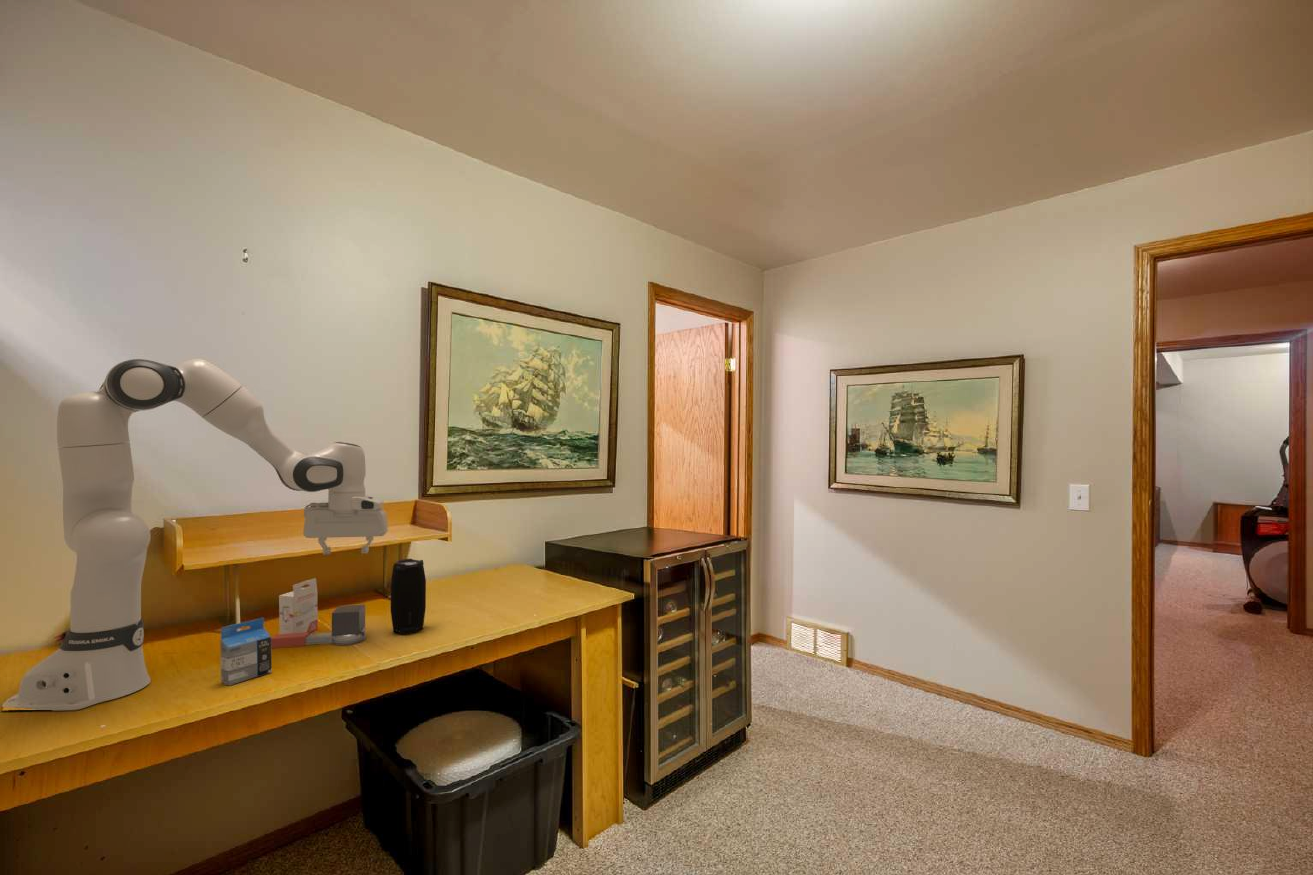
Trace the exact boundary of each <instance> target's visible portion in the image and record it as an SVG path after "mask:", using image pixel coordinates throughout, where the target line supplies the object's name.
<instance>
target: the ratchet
mask: <svg viewBox="0 0 1313 875" xmlns="http://www.w3.org/2000/svg"><path fill="white" fill-rule="evenodd" d="M366 636H367V628H366V626H365V627H364V629H363V630H362V631H361V633H360V634H355V635H341V636H332V631H331V632H318V633H317V632H316V633H311V632H304V633H289V634H280V633H279V634H275V635H273V636H272V637H271V649H280V648H292V647H293V648H294V646H295V647H305V646H304V645H306V646H315V644H318V645H329V644H330V643H331V644H332V645H334V646H338V647H340V646H341V647H342V646H344V647H345V646H353V645H356V643H357V644H359V643H362V642H364V641H365V640H366V638H367V637H366Z"/></svg>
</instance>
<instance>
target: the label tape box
mask: <svg viewBox="0 0 1313 875" xmlns="http://www.w3.org/2000/svg"><path fill="white" fill-rule="evenodd" d="M264 624H265V617H260V618H256V619H252V620H247V621H243V622H239V623H235V624H230V625H227V626H222V627H221V628H220V682H221V683H222V684H223V685H226V686H228V687H229V686H233V685H236V684H238V683H241V682H244V681H247V680H252V679H254V678H258V677H260V676H265V675H267V674H270V673H272V672H273V671H272V670H273V669H272V667H273V666H272V665H273V664H272V659H273V658H272V648H271V638H272V636H271V634H269V632H268V631H267V630H266V628H265V627H264ZM242 627H245V629H242ZM247 627H249V628H247ZM238 629H241V630H238ZM237 630H238V631H237Z"/></svg>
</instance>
